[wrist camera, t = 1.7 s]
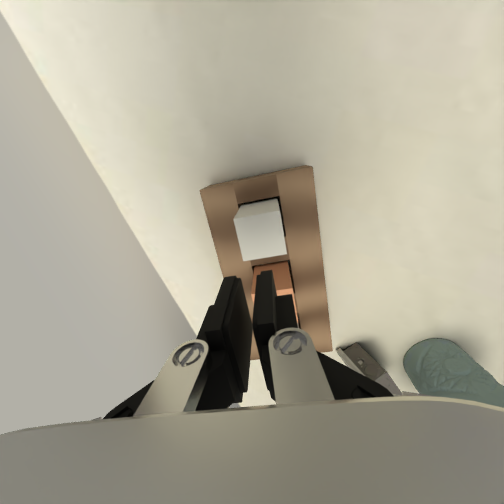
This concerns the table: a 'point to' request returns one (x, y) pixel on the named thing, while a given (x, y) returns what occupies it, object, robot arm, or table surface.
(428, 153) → the table surface
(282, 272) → the terracotta peg
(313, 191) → the socket board
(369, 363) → the electrical switch
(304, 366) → the robot arm
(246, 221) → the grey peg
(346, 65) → the table surface
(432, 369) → the teal plant pot
